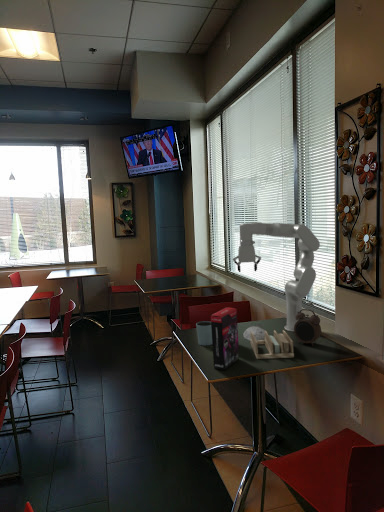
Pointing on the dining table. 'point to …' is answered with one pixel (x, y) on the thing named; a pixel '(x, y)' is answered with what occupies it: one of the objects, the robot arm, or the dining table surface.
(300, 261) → the robot arm
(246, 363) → the dining table surface
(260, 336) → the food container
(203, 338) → the grey cylindrical cup
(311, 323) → the alarm clock
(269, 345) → the rack
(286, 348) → the plywood offcut
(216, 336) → the graphics card box
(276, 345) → the sage offcut
